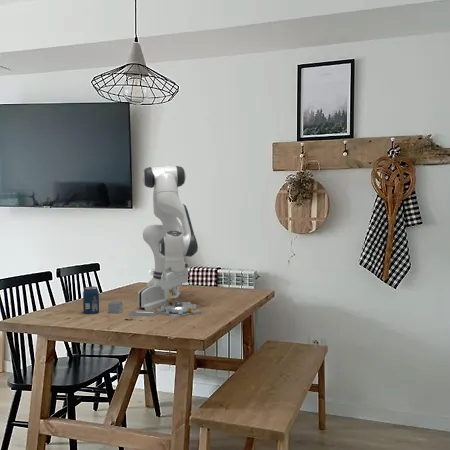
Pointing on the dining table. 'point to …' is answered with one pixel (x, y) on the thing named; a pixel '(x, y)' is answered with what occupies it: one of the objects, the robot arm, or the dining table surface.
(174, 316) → the sprocket base
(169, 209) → the robot arm
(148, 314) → the pad
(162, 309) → the sprocket
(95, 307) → the soda can
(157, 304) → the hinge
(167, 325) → the dining table surface
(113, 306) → the link block
